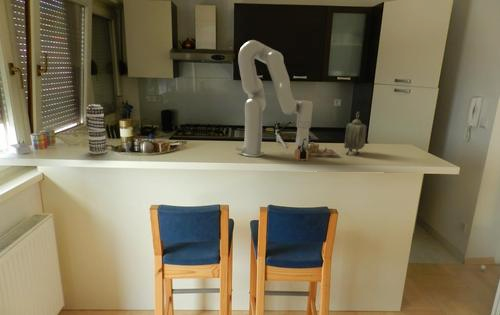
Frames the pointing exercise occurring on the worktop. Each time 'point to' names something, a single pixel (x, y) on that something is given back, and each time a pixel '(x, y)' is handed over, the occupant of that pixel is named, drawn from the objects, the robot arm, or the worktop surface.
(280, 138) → the caliper
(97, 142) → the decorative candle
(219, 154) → the worktop surface
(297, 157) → the terracotta gear
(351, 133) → the tabletop clock
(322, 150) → the gear board
